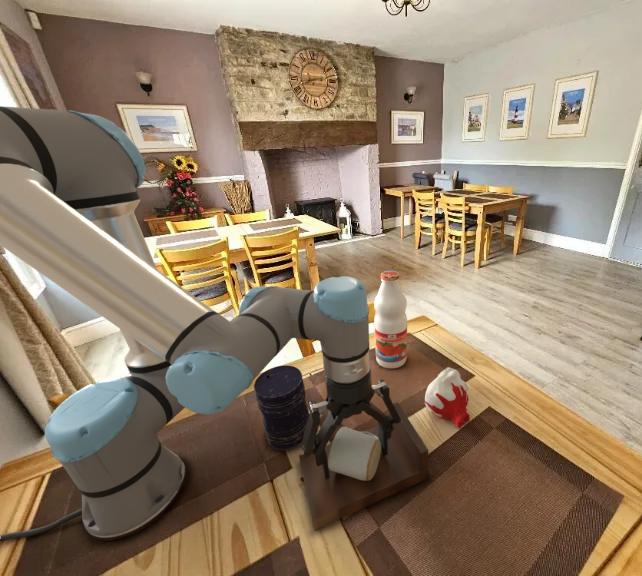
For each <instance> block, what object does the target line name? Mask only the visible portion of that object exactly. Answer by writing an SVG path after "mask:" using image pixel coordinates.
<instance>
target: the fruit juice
mask: <svg viewBox="0 0 642 576" xmlns="http://www.w3.org/2000/svg"><path fill="white" fill-rule="evenodd" d="M380 280H381V283H380V286H379V289H378V292H377V294H376V296H375V298H374V299H373V300H374V301H373V307H374V311H375V314H374V321H373V322H374V323H373V324H374V325H373V326H374V347H375V348H374V349H375V360H376V363H377V364H378V365H379V366H380V367H382V368H385V369H398V368H401V367H402V366H404V365H405V363H406V362H407V358H408V316H407V314H406V310H407V307H408V302H407V298H406V296H405V294H404V293H403V291H402V288H401V285H400V283H399V280H400V273H399V272H398V271H395V270H385V271H382V272H381V273H380Z"/></svg>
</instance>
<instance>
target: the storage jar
mask: <svg viewBox="0 0 642 576" xmlns="http://www.w3.org/2000/svg"><path fill="white" fill-rule="evenodd" d="M255 379H256V380H254V384H253V390H254V393H255V400H256V403H257V407H258V410H259V411H260V413H261V415H262V424H263V429H264V434H265V435H266V438H267V439H266V440H267V442H268V444H269V446H270V447H272V448H273V449H275V450H277V451H278V450H279V451H288V450H292V449H295V448H297V447H298V446H300V445H302V440H303V436H304V433H305V429H306V425H307V422H308V418H309V414H310V409H309V406H308V405H307V401H306V396H307V395H306V394H307V393H306V392H307V391H306V388H305V382H304V379H303V373H302V371H301V370H300V369H299V368H298V367H296V366H294V365H289V364H288V365H278V366H277V365H276V366H273V367H271V368H269V369H267V370H265V371H263V372H261V373H260V374H259V375H258V376H257V377H256V378H255Z"/></svg>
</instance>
